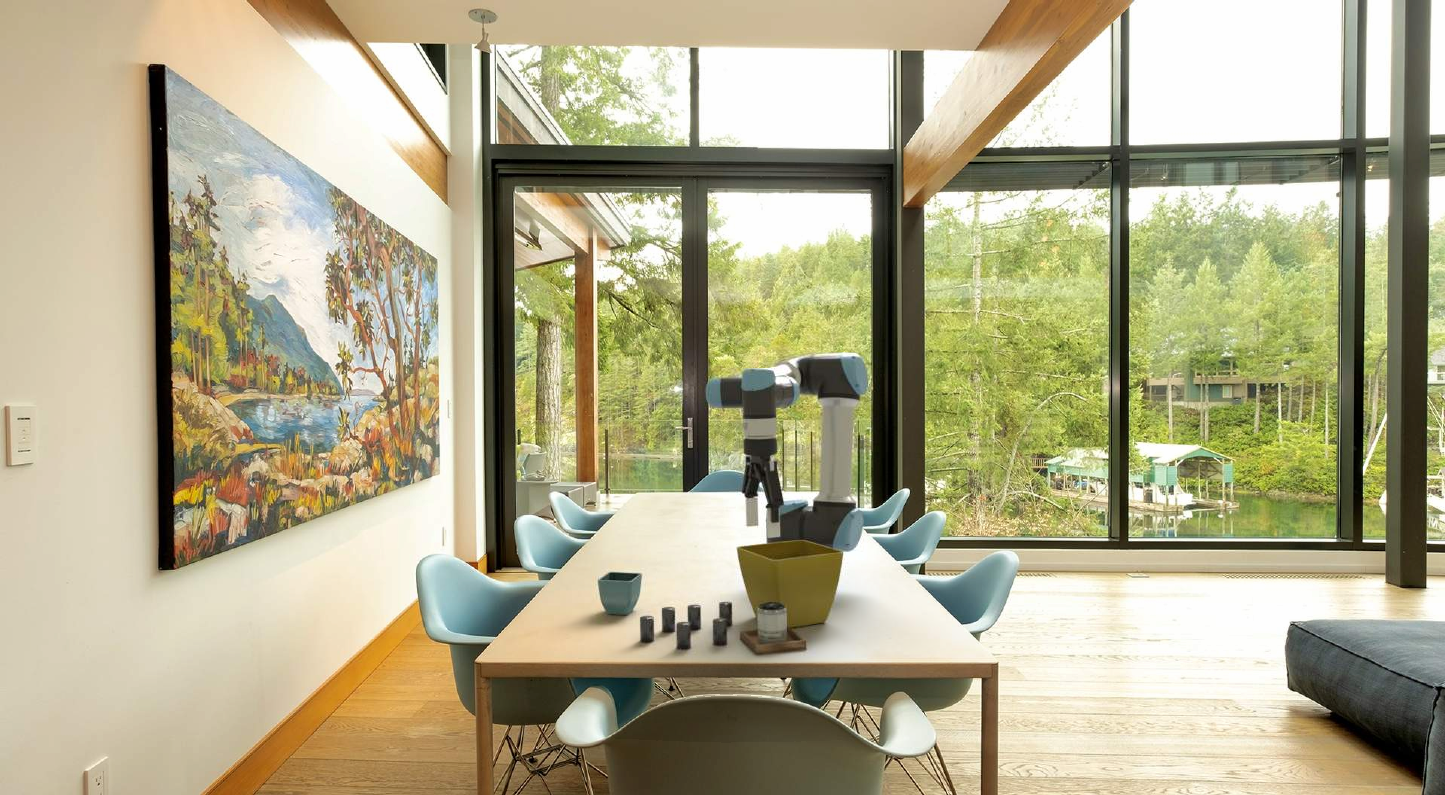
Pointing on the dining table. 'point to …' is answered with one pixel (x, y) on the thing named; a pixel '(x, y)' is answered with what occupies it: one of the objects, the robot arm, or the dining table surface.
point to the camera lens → (772, 623)
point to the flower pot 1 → (619, 591)
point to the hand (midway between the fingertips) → (762, 531)
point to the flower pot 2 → (792, 578)
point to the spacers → (688, 625)
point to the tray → (758, 648)
